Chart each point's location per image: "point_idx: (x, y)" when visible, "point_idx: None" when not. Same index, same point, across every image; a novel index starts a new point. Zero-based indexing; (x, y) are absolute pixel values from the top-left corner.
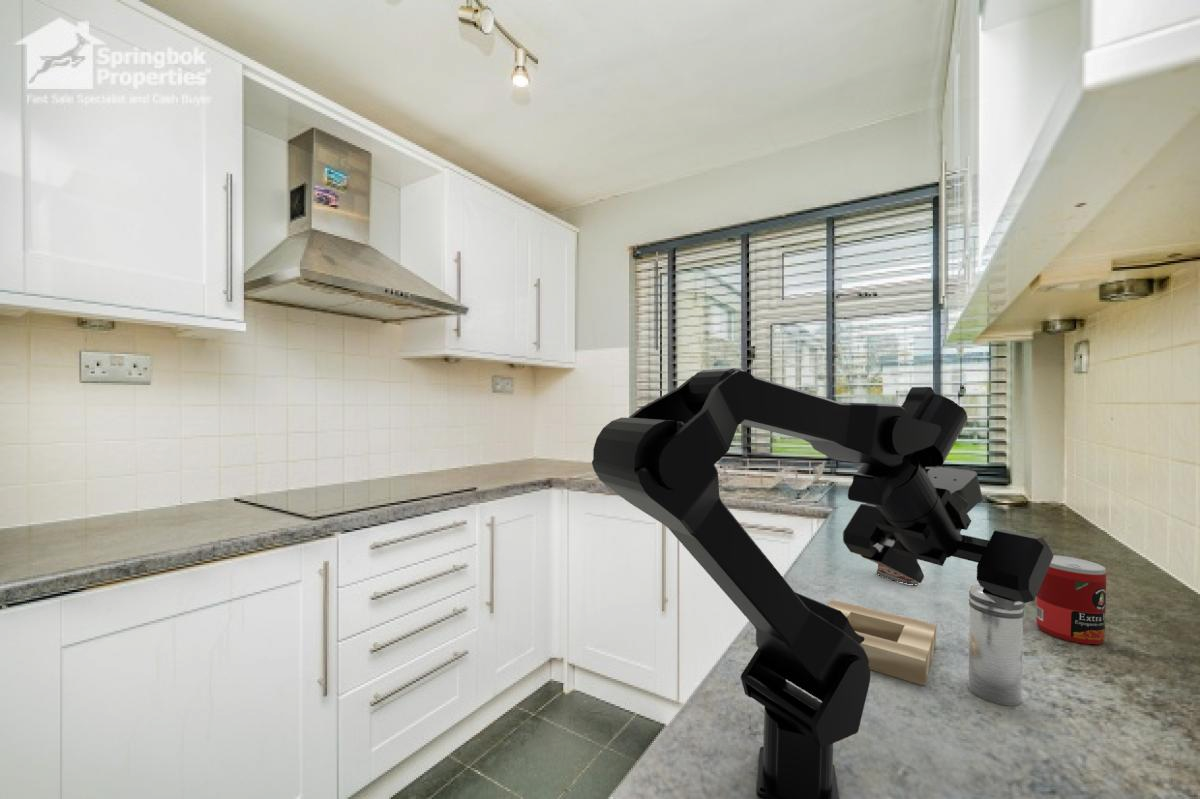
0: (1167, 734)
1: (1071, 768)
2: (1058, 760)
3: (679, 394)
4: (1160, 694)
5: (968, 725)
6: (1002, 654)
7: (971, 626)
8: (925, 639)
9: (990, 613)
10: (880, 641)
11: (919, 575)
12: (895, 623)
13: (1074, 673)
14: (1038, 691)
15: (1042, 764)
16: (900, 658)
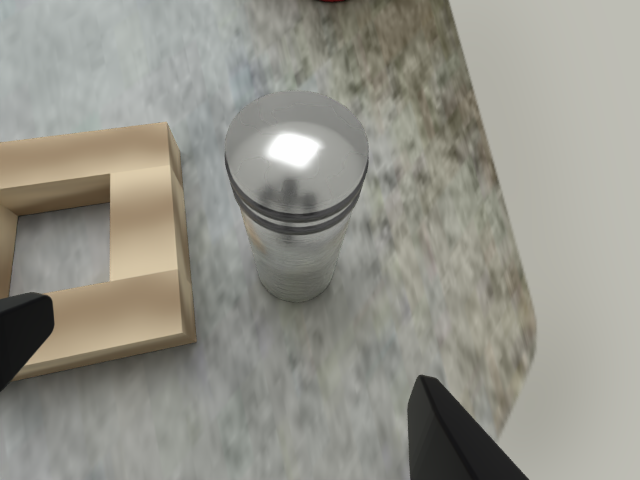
0: (482, 197)
1: None
2: None
3: None
4: (446, 85)
5: (293, 438)
6: (320, 265)
7: (250, 234)
8: (161, 214)
9: (298, 234)
10: (73, 309)
11: (21, 336)
12: (90, 177)
13: (361, 98)
14: None
15: None
16: (132, 345)
